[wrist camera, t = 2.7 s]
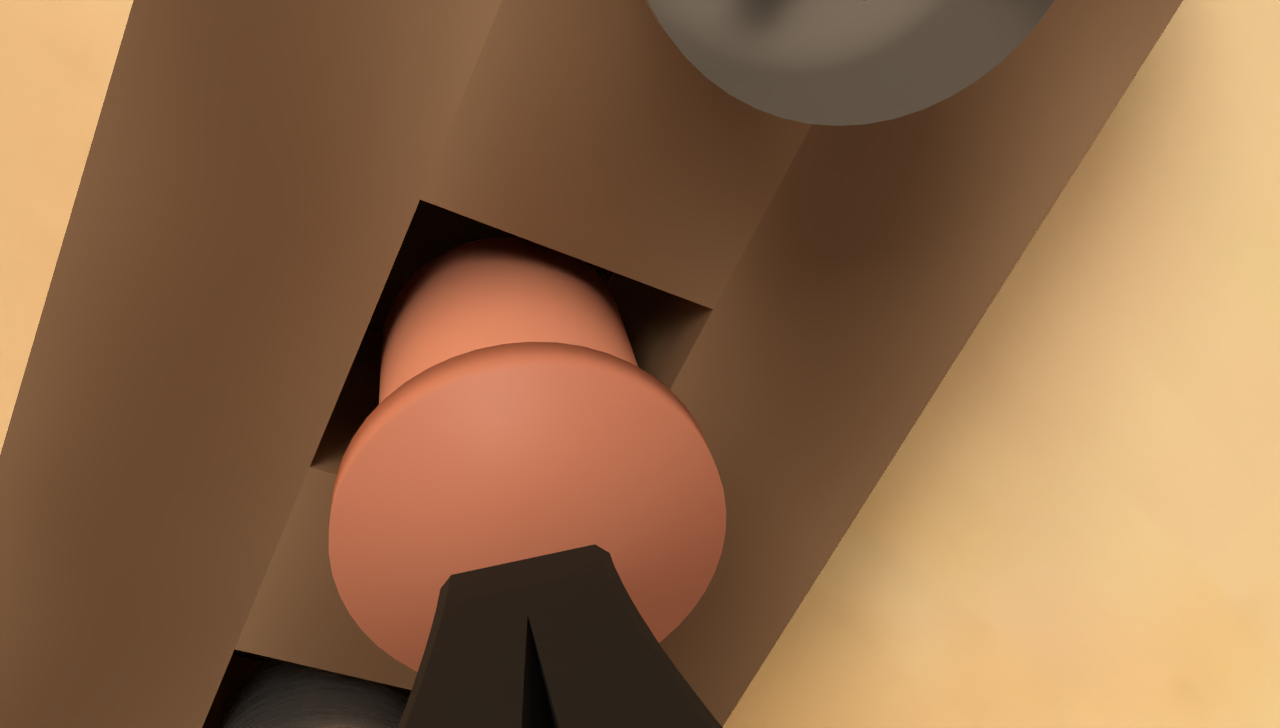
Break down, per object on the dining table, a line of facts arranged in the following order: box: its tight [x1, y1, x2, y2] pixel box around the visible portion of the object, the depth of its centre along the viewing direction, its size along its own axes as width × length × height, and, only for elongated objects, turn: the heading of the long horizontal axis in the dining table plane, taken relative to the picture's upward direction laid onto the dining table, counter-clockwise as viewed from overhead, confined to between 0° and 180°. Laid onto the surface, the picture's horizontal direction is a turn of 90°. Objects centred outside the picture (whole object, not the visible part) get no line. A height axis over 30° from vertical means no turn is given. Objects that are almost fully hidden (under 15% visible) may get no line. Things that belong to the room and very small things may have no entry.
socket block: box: [0, 0, 1183, 728], centre depth 16 cm, size 10×19×4 cm, turn 154°
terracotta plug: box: [329, 237, 726, 672], centre depth 13 cm, size 4×4×4 cm
